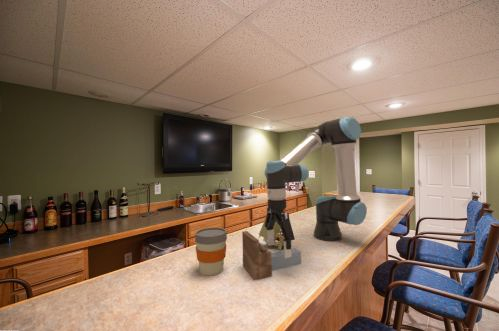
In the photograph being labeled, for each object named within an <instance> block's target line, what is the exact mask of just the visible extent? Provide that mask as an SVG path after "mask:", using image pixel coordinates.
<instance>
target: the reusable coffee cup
mask: <svg viewBox="0 0 499 331" xmlns="http://www.w3.org/2000/svg"><path fill="white" fill-rule="evenodd" d="M194 234H195V235H194V242H195V245H196V246H195V253H196V259H197V261H198V266H199V272H200V274H201V275H204V276H209V277H210V276H215V275H216V276H217V275H218V274H220V273H222V272H223V271H224V264H225V263H224V262H225V259H226V253H227V240H228V236H227V230H226V229H225V228H222V227H206V228H202V229H201V228H200V229H199V230H197V231H196V232H195V233H194Z"/></svg>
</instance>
